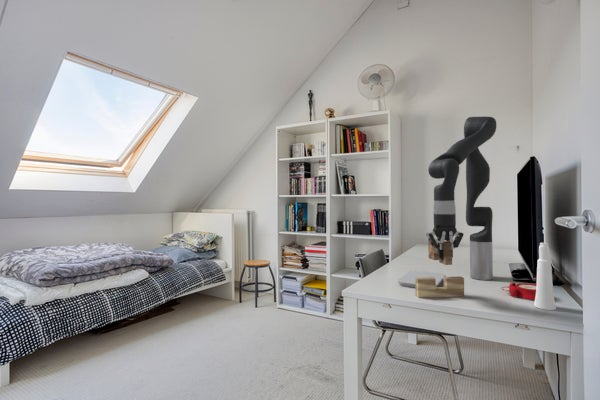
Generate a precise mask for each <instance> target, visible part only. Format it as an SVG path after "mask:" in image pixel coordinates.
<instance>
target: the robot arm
mask: <svg viewBox="0 0 600 400" xmlns="http://www.w3.org/2000/svg"><path fill="white" fill-rule="evenodd" d="M496 130H497V120H496V118H494V117H493V116H470V117H467V118H466V119H465V121H464V125H463V136H464V137H463V138H461V139H460V140H457V141H456V142H455V143H453V145H451V146H450V147H449V148H448V149H447V150H446V152H444V153H442V154H440V155H439V156H437V157H436V158H434V159H433V160H432V161H431V162H430V164H429V166H428V174H429V177H431V178H433V179H443V181H442V183H441V184H438V185H435V186H434V188H433V210H432V212H433V229H432V231H430V232H426V237H427V240H428V239H429V241H430V243H431V245H432V247H434V248H437V256H438V258H439V259H440V260H443V250H442V249H443V244H444V241H447V242H451V243H452V259H453V257H454V249H457V248H459V245H460V243H461V241H462V240H463V237H464V234H465V233H464V232H461V231H458V230H457V228H456V223H457V220H456V219H457V217H456V209H457V208H456V202H455V190H456V186H457V182H458V177H459V174H460V165H461V164H462V163H464V161H465V160H466V161H465V163H466V164H465V181H466V183H465V184H466V203H465V205H466V206H465V222H466V223H465V224H467V226H469V227H484V228H483V229H482V230H479V231H478V232H475V233H471V234H470V235H469V276H470V278H471V279H476V280H481V281H492V280H494V264H493V263H494V261H493V257H494V255H493V217H494V216H493V209H492V208H491V207H490V206H475V204H476V202H477V200H478V198H479V196H480V195H482V193H483V192H484V191H485V189H486V188H487V186H489V183H490V182H491V181H490V178H491V176H490V175H491V168H490V164H489V163H488V161H487V160H486V158H485V157H484V155H483V154H482V152H481V151H480V149H479V147H481V146H482V145H484V144H485V143H487V142H488V141H489V140H490V139H492V137H494V135H495V133H496ZM434 238H435V239H437V243H436V241H435V239H434Z"/></svg>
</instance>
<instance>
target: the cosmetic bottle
mask: <svg viewBox="0 0 600 400" xmlns="http://www.w3.org/2000/svg"><path fill="white" fill-rule="evenodd" d="M536 263H537V265H536V266H537V267H536V297H535V300H534V304H533V306H534V307H535V308H538V309H541V310H546V311H555V310H557V306H556V301H555V295H554V286H553V271H552V260H550V246H549V243H548V242H540V243H539V246H538V259H537V262H536Z"/></svg>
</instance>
